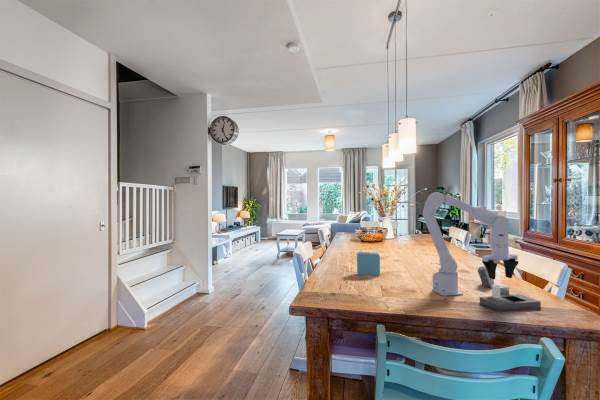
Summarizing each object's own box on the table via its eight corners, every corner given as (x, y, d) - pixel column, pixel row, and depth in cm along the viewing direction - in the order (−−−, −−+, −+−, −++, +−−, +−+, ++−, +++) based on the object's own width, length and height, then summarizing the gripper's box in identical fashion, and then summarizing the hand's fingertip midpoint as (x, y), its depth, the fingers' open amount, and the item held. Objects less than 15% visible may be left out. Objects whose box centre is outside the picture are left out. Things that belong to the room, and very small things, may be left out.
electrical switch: (493, 288, 125) (490, 268, 126) (479, 287, 128) (476, 267, 129) (494, 283, 133) (492, 264, 133) (481, 283, 136) (479, 263, 136)
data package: (379, 274, 153) (379, 252, 153) (380, 276, 148) (379, 253, 148) (357, 273, 155) (357, 251, 155) (357, 275, 151) (356, 253, 151)
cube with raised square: (500, 300, 111) (500, 287, 111) (492, 296, 115) (492, 284, 115) (509, 299, 112) (509, 286, 112) (500, 296, 116) (500, 283, 116)
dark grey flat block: (497, 311, 100) (496, 304, 100) (479, 303, 108) (479, 296, 108) (540, 308, 102) (540, 301, 102) (520, 300, 110) (520, 294, 110)
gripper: (491, 247, 109) (492, 281, 108) (524, 245, 111) (525, 279, 110) (477, 244, 116) (478, 277, 115) (508, 243, 118) (509, 275, 117)
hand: (500, 278), depth 113 cm, fingers open, 7 cm apart
